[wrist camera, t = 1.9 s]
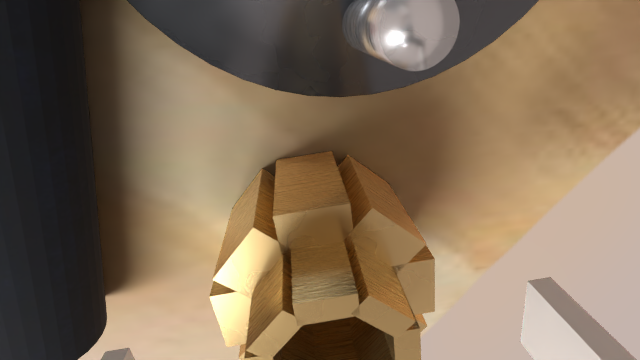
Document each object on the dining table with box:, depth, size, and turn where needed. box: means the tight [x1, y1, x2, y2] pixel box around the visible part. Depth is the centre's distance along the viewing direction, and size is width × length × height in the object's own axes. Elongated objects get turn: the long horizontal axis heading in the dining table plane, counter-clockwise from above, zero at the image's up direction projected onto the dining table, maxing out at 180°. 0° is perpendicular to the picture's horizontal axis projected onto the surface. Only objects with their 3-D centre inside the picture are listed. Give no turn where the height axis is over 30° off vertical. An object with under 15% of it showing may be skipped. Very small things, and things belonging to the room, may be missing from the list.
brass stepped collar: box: [210, 151, 435, 360], centre depth 14 cm, size 8×8×8 cm
